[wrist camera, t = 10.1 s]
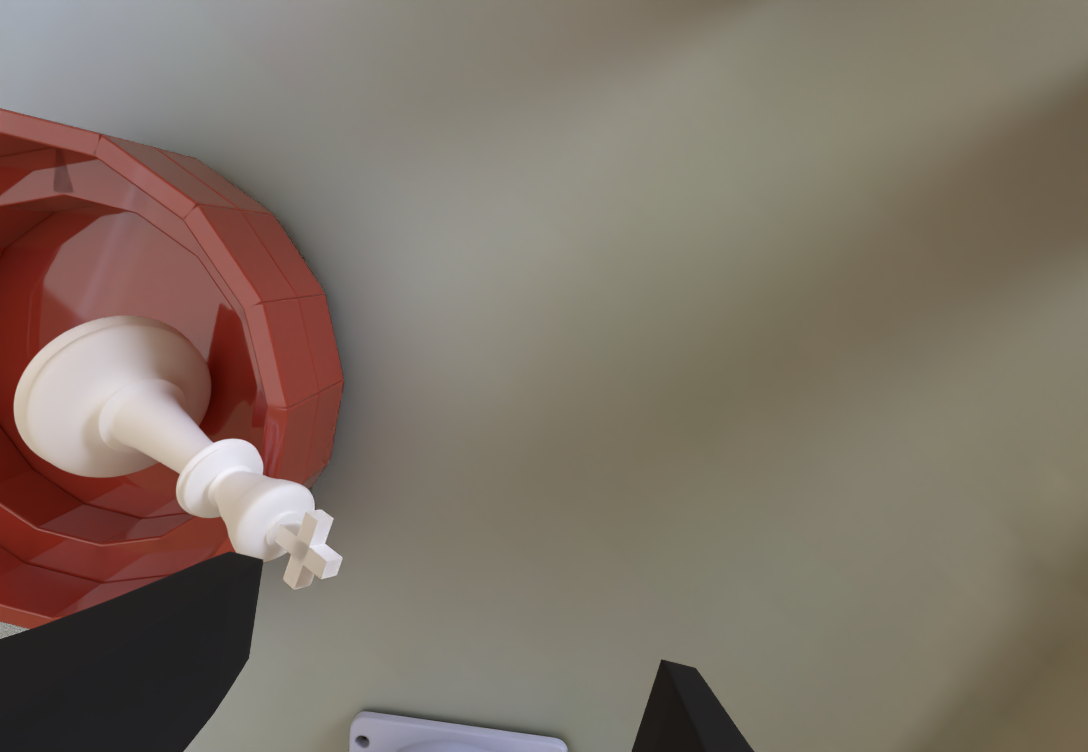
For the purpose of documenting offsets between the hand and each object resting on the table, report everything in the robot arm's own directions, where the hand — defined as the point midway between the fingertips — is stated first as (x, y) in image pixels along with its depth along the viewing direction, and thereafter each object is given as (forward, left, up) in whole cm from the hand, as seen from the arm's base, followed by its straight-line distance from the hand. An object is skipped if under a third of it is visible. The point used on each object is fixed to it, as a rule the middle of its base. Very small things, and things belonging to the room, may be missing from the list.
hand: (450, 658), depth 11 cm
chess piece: (+2, +12, -8) cm, 14 cm away
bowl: (+2, +13, -10) cm, 17 cm away
